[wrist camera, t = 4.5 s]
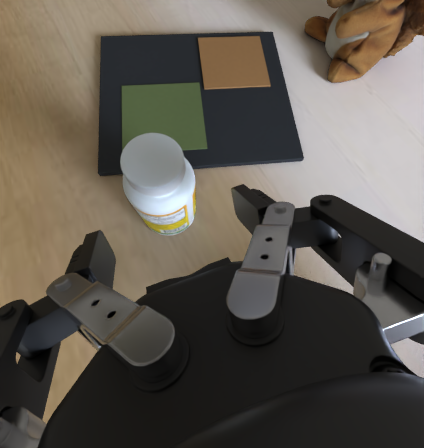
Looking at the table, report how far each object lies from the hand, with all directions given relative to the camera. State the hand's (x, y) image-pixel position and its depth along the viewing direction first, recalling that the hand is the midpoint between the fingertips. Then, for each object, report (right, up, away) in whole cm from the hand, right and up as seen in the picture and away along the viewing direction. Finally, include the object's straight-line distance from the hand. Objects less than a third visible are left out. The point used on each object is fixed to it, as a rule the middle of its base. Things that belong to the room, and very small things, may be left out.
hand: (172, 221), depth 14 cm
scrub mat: (+1, +15, +14) cm, 20 cm away
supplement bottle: (-2, +1, +10) cm, 10 cm away
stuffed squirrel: (+22, +23, +17) cm, 36 cm away
